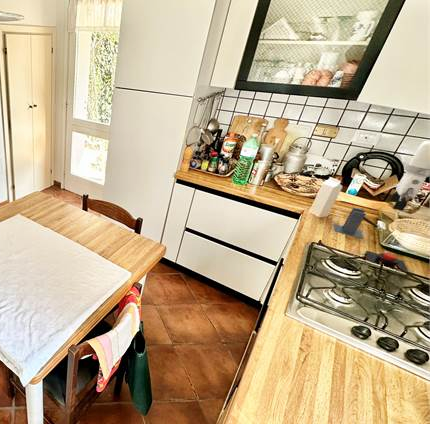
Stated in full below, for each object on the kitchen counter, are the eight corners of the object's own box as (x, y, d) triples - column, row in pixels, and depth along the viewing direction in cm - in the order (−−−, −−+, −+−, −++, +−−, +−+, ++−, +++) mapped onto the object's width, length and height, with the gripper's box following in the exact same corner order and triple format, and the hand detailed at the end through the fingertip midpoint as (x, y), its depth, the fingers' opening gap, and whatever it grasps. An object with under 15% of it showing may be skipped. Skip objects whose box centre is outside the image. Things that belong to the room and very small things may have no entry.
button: (393, 258, 130) (395, 254, 129) (394, 262, 127) (397, 258, 126) (381, 254, 132) (384, 251, 131) (383, 258, 129) (385, 255, 128)
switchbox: (400, 264, 132) (406, 257, 130) (405, 276, 125) (411, 269, 123) (363, 254, 138) (368, 247, 136) (366, 265, 131) (371, 257, 129)
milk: (317, 218, 166) (336, 181, 155) (307, 213, 171) (325, 177, 160) (327, 217, 167) (346, 180, 156) (316, 212, 172) (334, 176, 162)
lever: (376, 227, 148) (381, 224, 146) (377, 232, 145) (383, 228, 143) (351, 211, 151) (356, 208, 150) (352, 215, 148) (357, 212, 146)
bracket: (360, 232, 154) (373, 210, 148) (362, 240, 148) (376, 217, 141) (332, 225, 160) (344, 204, 154) (333, 232, 153) (345, 210, 147)
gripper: (436, 178, 122) (411, 215, 131) (425, 166, 134) (403, 201, 143) (410, 174, 126) (387, 210, 135) (402, 162, 138) (381, 196, 147)
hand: (395, 205), depth 139 cm, fingers open, 9 cm apart
